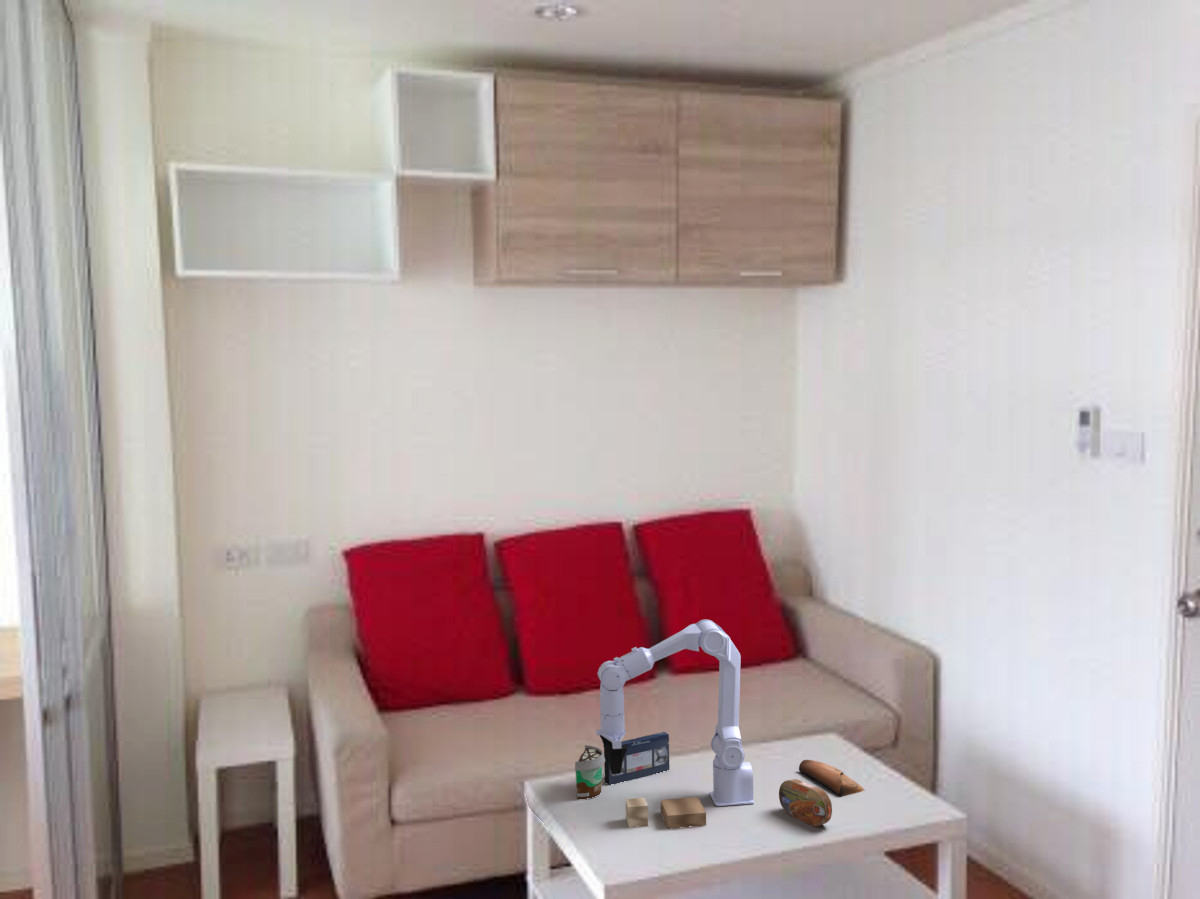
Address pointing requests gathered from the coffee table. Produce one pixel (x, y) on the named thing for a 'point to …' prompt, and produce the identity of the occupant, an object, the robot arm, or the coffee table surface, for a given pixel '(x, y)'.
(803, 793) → the tin
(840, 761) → the coffee table surface
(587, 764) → the food container
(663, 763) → the vhs cassette tape
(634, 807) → the maple cube
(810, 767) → the sunglasses case
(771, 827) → the coffee table surface
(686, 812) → the tan flat block
